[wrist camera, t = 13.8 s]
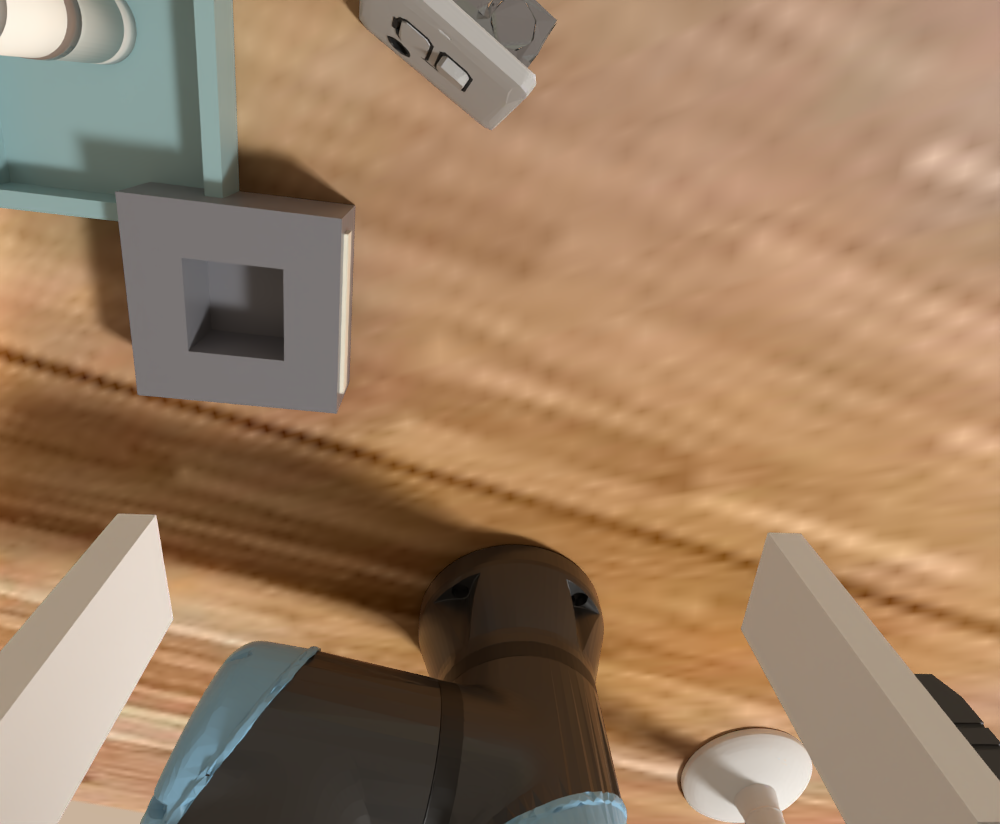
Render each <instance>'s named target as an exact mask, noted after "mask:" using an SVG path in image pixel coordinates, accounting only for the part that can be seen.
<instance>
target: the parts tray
mask: <svg viewBox="0 0 1000 824" xmlns="http://www.w3.org/2000/svg"><path fill="white" fill-rule="evenodd" d="M125 1H126V2H127V4H128V5H129V7H130V9H131V11H132V13H133V16H134V18H135V22H136V28H137V37H136V43H135V46H134V48H133V50H132V52H131V53H130V55H129V56H128V57H127V58H126V59H124V60H123V61H121V62H119V63H116V64H111V65H103V64H92V63H81V62H70V61H58V60H50V61H46V60H34V59H25V58H21V57H14V56H3V55H0V208H8V209H17V210H25V211H34V212H43V213H51V214H60V215H68V216H77V217H85V218H94V219H102V220H111V221H118V213H117V204H116V195H115V191H119V190H122V189H126V188H130V187H133V186H137V185H140V184H144V183H148V182H156V183H164V184H172V185H180V186H188V187H196V188H204V194H205V196H208V197H217V198H225V197H227V196H229V195H232V194H234V193H236V192H239V165H238V137H237V109H236V82H235V54H234V26H233V0H125Z"/></svg>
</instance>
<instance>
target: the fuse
mask: <svg viewBox="0 0 1000 824" xmlns="http://www.w3.org/2000/svg"><path fill="white" fill-rule="evenodd" d="M136 37H137V28H136V22H135V18H134V16H133V13H132V11H131V9H130V7H129V5H128V4H127V2H126V1H125V0H0V55H3V56H14V57H21V58H25V59H34V60H46V61H50V60H58V61H70V62H81V63H92V64H103V65H111V64H116V63H119V62H121V61H123V60H124V59H126V58H127V57H128V56H129V55H130V53H131V52H132V50H133V48H134V46H135V43H136Z"/></svg>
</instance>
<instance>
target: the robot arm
mask: <svg viewBox="0 0 1000 824" xmlns="http://www.w3.org/2000/svg"><path fill="white" fill-rule="evenodd" d="M172 621H173V614H172V608H171V602H170V596H169V590H168V584H167V577H166V571H165V565H164V559H163V553H162V547H161V541H160V535H159V529H158V523H157V516H156V515H150V514H117V515H116V516H115V517H114V519H113V520H112V521H111V522H110V523H109V524H108V526H107V527H106V528H105V529H104V530H103V531H102V533H101V534H100V535H99V536H98V537H97V539H96V540H95V541H94V542H93V543H92V544H91V546H90V547H89V548H88V549H87V550H86V551H85V553H84V554H83V555H82V556H81V557H80V558H79V560H78V561H77V562H76V563H75V564H74V566H73V567H72V568H71V569H70V570H69V571H68V573H67V574H66V575H65V576H64V577H63V578H62V580H61V581H60V582H59V583H58V584H57V585H56V587H55V588H54V589H53V590H52V591H51V592H50V594H49V595H48V596H47V597H46V598H45V600H44V601H43V602H42V603H41V604H40V605H39V607H38V608H37V609H36V610H35V611H34V612H33V614H32V615H31V616H30V617H29V618H28V619H27V621H26V622H25V623H24V624H23V625H22V627H21V628H20V629H19V630H18V631H17V632H16V634H15V635H14V636H13V637H12V638H11V639H10V641H9V642H8V643H7V644H6V645H5V646H4V648H3V649H2V650H1V651H0V824H58V822H59V820H60V819H61V817H62V815H63V813H64V811H65V810H66V808H67V806H68V804H69V803H70V801H71V799H72V797H73V796H74V794H75V792H76V790H77V788H78V787H79V785H80V783H81V781H82V780H83V778H84V776H85V774H86V773H87V771H88V769H89V767H90V766H91V764H92V762H93V760H94V758H95V757H96V755H97V753H98V751H99V750H100V748H101V746H102V744H103V743H104V741H105V739H106V737H107V735H108V734H109V732H110V730H111V728H112V727H113V725H114V723H115V721H116V720H117V718H118V716H119V714H120V713H121V711H122V709H123V707H124V705H125V704H126V702H127V700H128V698H129V697H130V695H131V693H132V691H133V690H134V688H135V686H136V684H137V682H138V681H139V679H140V677H141V675H142V674H143V672H144V670H145V668H146V667H147V665H148V663H149V661H150V660H151V658H152V656H153V654H154V652H155V651H156V649H157V647H158V645H159V644H160V642H161V640H162V638H163V637H164V635H165V633H166V631H167V629H168V628H169V626H170V624H171V622H172ZM741 630H742V632H743V634H744V636H745V638H746V639H747V641H748V643H749V645H750V647H751V649H752V651H753V652H754V654H755V656H756V658H757V660H758V662H759V664H760V665H761V667H762V669H763V671H764V673H765V675H766V677H767V678H768V680H769V682H770V684H771V686H772V688H773V690H774V691H775V693H776V695H777V697H778V699H779V701H780V702H781V704H782V706H783V708H784V710H785V712H786V714H787V715H788V717H789V719H790V721H791V723H792V725H793V727H794V728H795V730H796V732H797V734H798V736H799V738H800V740H801V741H802V743H803V745H804V747H805V749H806V751H807V753H808V754H809V756H810V758H811V760H812V762H813V764H814V766H815V767H816V769H817V771H818V773H819V775H820V777H821V778H822V780H823V782H824V784H825V786H826V788H827V790H828V791H829V793H830V795H831V797H832V799H833V801H834V803H835V804H836V806H837V808H838V810H839V812H840V814H841V816H842V817H843V819H844V821H845V823H846V824H1000V741H999V740H998V739H997V738H996V737H995V735H994V734H993V733H992V732H991V731H990V730H989V728H985V727H984V725H983V724H984V723H983V721H982V720H981V719H980V718H979V717H978V716H977V714H976V713H975V712H974V711H973V710H972V708H971V707H970V706H969V705H968V704H967V703H966V701H965V700H964V699H963V698H962V697H961V696H960V695H958V694H957V693H956V692H955V691H953V690H952V689H951V688H949V687H948V686H947V685H945V684H944V683H943V682H941V681H940V680H939V679H937V678H936V677H935V676H933V675H932V674H913V672H912V671H911V670H910V669H909V667H908V666H907V665H906V664H905V662H904V661H903V660H902V659H901V657H900V656H899V655H898V654H897V653H896V651H895V650H894V649H893V648H892V646H891V645H890V644H889V643H888V641H887V640H886V639H885V638H884V636H883V635H882V634H881V633H880V631H879V630H878V629H877V628H876V626H875V625H874V624H873V623H872V621H871V620H870V619H869V618H868V616H867V615H866V614H865V613H864V611H863V610H862V609H861V608H860V606H859V605H858V604H857V603H856V601H855V600H854V599H853V598H852V597H851V595H850V594H849V593H848V592H847V590H846V589H845V588H844V587H843V585H842V584H841V583H840V582H839V580H838V579H837V578H836V577H835V575H834V574H833V573H832V572H831V570H830V569H829V568H828V567H827V565H826V564H825V563H824V562H823V560H822V559H821V558H820V557H819V555H818V554H817V553H816V552H815V550H814V549H813V548H812V547H811V545H810V544H809V543H808V542H807V540H806V539H805V538H804V537H803V536H802V534H798V533H768V534H767V537H766V541H765V545H764V548H763V552H762V555H761V559H760V563H759V566H758V570H757V573H756V577H755V581H754V584H753V588H752V591H751V595H750V599H749V602H748V606H747V609H746V613H745V617H744V620H743V624H742V627H741ZM603 634H604V625H603V616H602V612H601V608H600V604H599V600H598V597H597V593H596V591H595V588H594V586H593V584H592V583H591V581H590V580H589V578H588V577H587V576H586V574H585V573H584V572H583V571H582V570H581V569H580V568H579V567H578V566H576V565H575V564H574V563H573V562H571V561H570V560H568V559H566V558H565V557H563V556H561V555H559V554H557V553H554V552H552V551H549V550H546V549H542V548H538V547H533V546H525V545H502V546H495V547H490V548H485V549H482V550H478V551H475V552H473V553H470V554H468V555H466V556H464V557H462V558H460V559H458V560H456V561H455V562H453V563H452V564H450V565H449V566H448V567H446V568H445V569H444V570H443V571H442V572H441V573H440V574H439V575H438V576H437V577H436V578H435V579H434V580H433V582H432V583H431V585H430V586H429V588H428V589H427V591H426V593H425V595H424V598H423V601H422V604H421V609H420V618H419V631H418V636H419V645H420V650H421V654H422V656H423V659H424V662H425V665H426V668H427V671H428V673H429V676H430V677H427V676H423V675H418V674H414V673H410V672H406V671H401V670H397V669H393V668H389V667H384V666H380V665H376V664H372V663H367V662H363V661H359V660H355V659H350V658H346V657H342V656H338V655H333V654H329V653H325V652H321V648H318V647H314V646H313V647H310V648H309V649H307V648H301V647H296V646H290V645H285V644H279V643H273V642H268V641H255V642H251V643H248V644H246V645H244V646H242V647H240V648H239V649H237V650H236V651H235V652H233V653H232V654H231V655H230V656H229V657H228V658H227V660H226V661H225V662H224V663H223V665H222V666H221V667H220V669H219V670H218V672H217V673H216V675H215V676H214V678H213V679H212V681H211V682H210V684H209V686H208V687H207V689H206V691H205V692H204V694H203V696H202V698H201V699H200V701H199V703H198V705H197V706H196V708H195V710H194V712H193V713H192V715H191V717H190V719H189V721H188V723H187V724H186V726H185V728H184V730H183V732H182V734H181V736H180V738H179V740H178V742H177V744H176V746H175V748H174V749H173V751H172V753H171V755H170V757H169V760H168V762H167V764H166V766H165V768H164V770H163V772H162V774H161V776H160V779H159V781H158V783H157V785H156V787H155V792H154V796H153V797H152V799H151V801H150V803H149V806H148V808H147V810H146V812H145V814H144V816H143V818H142V820H141V822H140V824H627V823H626V819H627V812H626V807H625V805H624V803H623V801H622V799H621V796H620V791H619V787H618V783H617V778H616V774H615V769H614V765H613V761H612V756H611V752H610V747H609V743H608V739H607V734H606V730H605V725H604V721H603V717H602V712H601V708H600V703H599V699H598V695H597V691H596V686H595V681H596V675H597V670H598V664H599V658H600V652H601V647H602V641H603Z"/></svg>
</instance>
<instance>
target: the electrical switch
mask: <svg viewBox="0 0 1000 824" xmlns="http://www.w3.org/2000/svg"><path fill="white" fill-rule="evenodd" d="M491 1H492V0H360V6H359V19H360V21H361V22H362V23H363V25H364V26H365V27H366V28H367V29H368V30H369V31H370V32H371V33H372V34H374V35H375V36H376V37H377V38H378V39H379V40H381V41H382V42H383V43H384V44H385V45H387V46H388V47H389V48H390V49H391V50H393V51H394V52H395V53H396V54H397V55H399V56H400V57H401V58H402V59H403V60H405V61H406V62H407V63H408V64H409V65H410V66H412V67H413V68H414V69H415V70H416V71H418V72H419V73H420V74H421V75H422V76H424V77H425V78H426V79H427V80H428V81H430V82H431V83H432V84H433V85H434V86H435V87H437V88H438V89H439V90H440V91H441V92H443V93H444V94H445V95H446V96H447V97H449V98H450V99H451V100H452V101H453V102H455V103H456V104H457V105H458V106H459V107H461V108H462V109H463V110H464V111H465V112H466V113H468V114H469V115H470V116H471V117H472V118H474V119H475V120H476V121H477V122H478V123H480V124H481V125H482V126H484V127H485V128H487V129H490V130H492V129H494V128H495V127H496V126H497V125H498V124H499V123H500V122H501V121H502V120H503V119H504V118H505V117H507V116H508V115H509V114H510V113H511V112H512V111H513V110H514V109H515V108H516V107H517V106H518V105H519V104H520V103H521V102H522V101H523V100H524V99H525V98H526V97H527V96H528V95H529V93H530V92H531V91H532V90H533V88H534V87H535V86H536V75H535V74H534V73H533V72H532V71H530V70H529V69H528V66H529V65H530V63H531V62H532V61H533V60H534V58H535V57H536V56H537V55H538V53H539V51H540V49H541V48H542V46H543V44H544V42H545V40H546V39H547V37H548V35H549V34H550V32H551V31H552V29H553V28H554V26H555V25H556V24H555V22H556V21H557V20H556V19H555V18H554V17H553V16H552V15H551V14H549V13H548V12H547V11H546V10H545V9H544V8H543V7H542V6H541V5H540V4H539V3H538V2H537V1H536V0H493V1H492V3H491V4H490V6H489V8H488V3H489V2H491ZM500 1H503V2H502V3H500ZM499 3H500V4H499ZM526 3H527V5H528V6H527V5H526ZM528 7H529V8H528ZM491 21H492V23H493V25H492V23H491ZM535 24H536V28H535ZM554 24H555V25H554ZM534 30H535V32H534ZM521 47H522V48H521ZM518 48H520V49H518Z"/></svg>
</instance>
